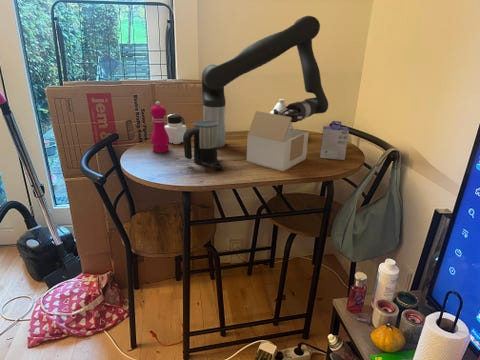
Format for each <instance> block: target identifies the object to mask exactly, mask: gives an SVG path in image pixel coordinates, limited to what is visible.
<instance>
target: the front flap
mask: <svg viewBox="0 0 480 360" xmlns="http://www.w3.org/2000/svg"><path fill="white" fill-rule="evenodd" d="M291 119H292V117H287V116H282V115H276V114H270V112H264V111H258V110H255V113H254V115H253V118H252V121H251V124H250V127H249V130H248V133H247V135H248V134H250V135H254V136H259V137H263V138H268V139H272V140H277V141H281V142H284V140H285V137H286V134H287V131H288V128H289V125H290V122H291Z"/></svg>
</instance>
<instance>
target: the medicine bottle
mask: <svg viewBox="0 0 480 360" xmlns="http://www.w3.org/2000/svg"><path fill="white" fill-rule="evenodd" d="M166 117H167V125H164V127H165V130H166V132H167V134H168V136H169V143H168V144H172V143H173V145H179V144H181V142H182V143H183V136H184V133H185V132H186V131H187V125H185V124H183V122H182V121H183V120H182V115H180V114H178V113H173V114H168V115H167V116H166Z"/></svg>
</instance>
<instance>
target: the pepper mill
mask: <svg viewBox="0 0 480 360" xmlns="http://www.w3.org/2000/svg"><path fill="white" fill-rule="evenodd" d="M166 114H167V110H166V107H164V106H163V105H161V102H160V101H155V105H153V106H152V107H151V108H150V115H151V116H152V117H151V118H152V119H151V121H152V122H153V131H152V134H151V137H150V139H151V140H150V141H151V143H152V145H153V146H152V150H153V152H156V153H165V151H166V152H168V151H169V145H168V144H169V143H168V142H169V136H168V134H167V132H166V130H165V127H164V126H165V122H166Z"/></svg>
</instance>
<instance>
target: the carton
mask: <svg viewBox="0 0 480 360" xmlns="http://www.w3.org/2000/svg"><path fill="white" fill-rule="evenodd" d="M309 133H310V132H309V131H308V130H307V131H306V130H302V129H297V128H293V129H292V128H288V131H287V134H286V137H285V140H284V142H281V141H277V140H272V139H268V138H263V137H259V136H254V135H250V134H248V133H247V140H246V141H247V143H246V144H247V146H246V162H247V163H249V164H254V165H257V166H261V167H263V168H267V169H272V170H275V171H279V172H282V173H283V172H285V171H287V170H288V169H291V168H292V167H294V166H296V165H297V164H300V163H301V162H303V161H305V160H306V158H307V150H308V143H309V142H308V141H309Z"/></svg>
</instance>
